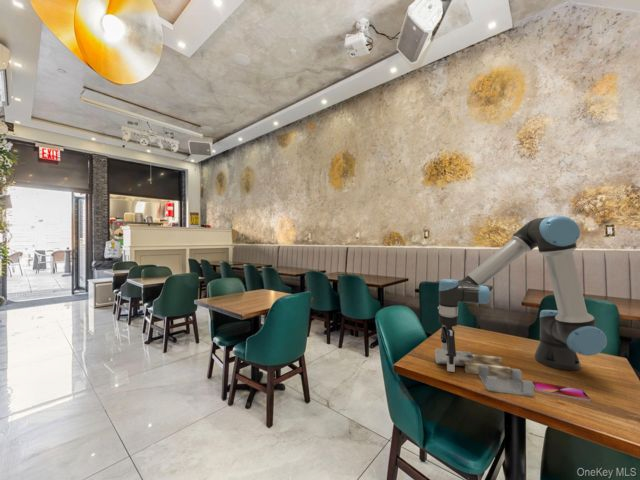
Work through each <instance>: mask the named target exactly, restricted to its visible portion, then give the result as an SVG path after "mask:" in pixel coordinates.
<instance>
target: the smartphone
mask: <svg viewBox="0 0 640 480" xmlns="http://www.w3.org/2000/svg"><path fill="white" fill-rule="evenodd" d="M531 382H532V383H533V389H534V390H535V391H537V392H539V393H544V394H547V395H554V396H559V397H564V398H569V399H574V400H579V401H584V402H591V398H590V396H589V395H588V394H587V393H586V392H585V391H584V390H583V389H580V388H575V387H570V386H566V385H565V386H563V385H559V384H552V383H546V382H540V381H531Z"/></svg>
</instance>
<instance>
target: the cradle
mask: <svg viewBox="0 0 640 480" xmlns="http://www.w3.org/2000/svg"><path fill="white" fill-rule="evenodd" d="M522 373H523V372H522V370H521V369H519V368H511V367H510V377H504V376H495V375H489V367H488V366H485V365H479V374H478V377H479V378H480V380H481V382H482V383H483V385H484V387H485V388H486V390H487V391H488V392H494V393H504V394H508V395H511V394H512V395H518V396H523V397H524V396H525V397H532V398H533V397H534V386H533V383H532V381H531V380H528V379H527V380H526V379H523V378H522V376H523V375H522Z"/></svg>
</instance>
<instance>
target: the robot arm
mask: <svg viewBox="0 0 640 480" xmlns="http://www.w3.org/2000/svg"><path fill="white" fill-rule="evenodd" d="M580 235H581V229H580V226H579V225H578V223H577V222H576V221H575V220H574V219H572V218H570V217H567V216H564V215H551V216H546V217H539V218H534V219H531V220H529V222H527V223H526V224H524V225H523V226H522V227H520V228H519V229H518V230H517V231H516V232H515V233H513V234H512V235H511V236H510V240H509V241H507V242H506V243H505V244H503V246H501V247H500V248H499V249H498V250H497V251H495V252H494V253H493V254H492V255H491V256H489V257H488V258H487V259H485V261H483V262H482V263H481V264H480V265H478V266H477V267H476V268H475V269H474V270H472V271H471V272H470V273H469V274H467V275H466V276H465V277H463V279H458V280H457V279H453V278H442V279H440V280H439V285H438V306H437V309H438V323H439V325H441V332H440V340H441V348H440V349H444V350H448V354H446V356H447V364H446V370H447V371H446V372H452V373H455V368H456V367H455V366H456V365H455V357H456V351H457V350H456V349H457V348H456V340H455V339H456V338H455V330H454V329H453V327H457V326H458V322H459V321H458V315H459V303H465V304H466V303H468V304H479V305H481V304H489V302H490V301H491V290H490V288H489V287H488V286H487V285H486V284H487V283H488V282H490V281H491V280H492V279H494V278H495V277H496V276H497V275H498V274H499V273H501V272H502V271H503V270H504V269H506V268H507V267H508V266H510V265H511V264H512V263H514V261H516V260H517V259H518V258H519V257H520V256H522V255H523V254H524V253H525V252H527V253H530V252H531V251H532V250H533V249H535V248H537V249H538V252H539V253H540V254H542V255H543V256H544V258H545V263H546V266H547V270H548V274H549V280H550V284H551V286H552V293H553V295H554V299H555V304H556V308H557V310H555V309H542V310H540V312H539V317H538V318H539V344H537V345H538V346H537V348H536V350H535V352H534V359H535V361H537V362H538V363H540V364H543V365H545V366H547V367H550V368H553V369H557V370H564V371H579V370H580V368H581V361H580V358H579V357H578V355H577V354H579V355H583V356H586V357H587V356H596V355H598V354H601V352H602V351H603V350H604V349H606V347H607V344H608V338H607V336H606V334H605V332H604V331H603V330H602V329H600V328H599V327H597V324H596V319H595V317H594V316H593V315H592V314H591V313H590V312H589V313H588V310H587V306H586V301H585V298H584V293H583V289H582V286H581V282H580V277H579V273H578V269H577V264H576V260H575V256H574V252H575V250H576V249H577V248H578V246H577V244H576V243H577V241H578V239H579V238H580Z"/></svg>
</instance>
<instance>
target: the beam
mask: <svg viewBox="0 0 640 480" xmlns="http://www.w3.org/2000/svg"><path fill="white" fill-rule="evenodd" d="M472 356H473V363H469V362H465V366H462V368H463V370H464V371H465V373H466V374H473V375H474V374H475V375H479V365H485V366H488V367H489V375H495V376H504V377H510V368H511V367H510V366H504V365H503V358H502V357H500V356H494V355H483V354H473V353H472Z"/></svg>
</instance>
